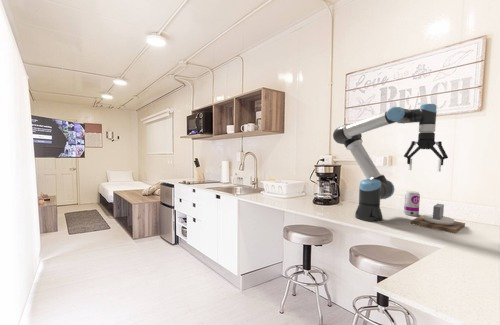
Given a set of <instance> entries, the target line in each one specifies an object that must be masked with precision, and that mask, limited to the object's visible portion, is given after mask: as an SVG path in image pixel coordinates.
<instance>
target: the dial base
mask: <svg viewBox="0 0 500 325" xmlns="http://www.w3.org/2000/svg"><path fill="white" fill-rule="evenodd" d="M410 224H411V225H413V226H419V227H424V228H428V229H433V230H436V231H437V230H438V231H442V232H446V233H449V234H451V233H452V234H457V233H458V232H459V231H461V230H462V229H464V228H465V226H466V222H461V221H455V220H454V224H453V225H441V224H435V223H430V222H427V221H425V220H423V215H421V216H417V217H416V218H414V219H411V220H410Z"/></svg>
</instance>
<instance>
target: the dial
mask: <svg viewBox="0 0 500 325" xmlns="http://www.w3.org/2000/svg"><path fill="white" fill-rule="evenodd" d="M444 207H445V205H444V204H443V203H436V204H435V205H433V209H432V210H433V212H432V214H427V213H426V214H422V216H423V220H425V221H427V222H430V223H435V224H441V225H453V224H454V221H455V219H454V218H451V217H449V216H446V215H444V209H445V208H444Z"/></svg>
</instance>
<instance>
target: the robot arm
mask: <svg viewBox="0 0 500 325" xmlns="http://www.w3.org/2000/svg"><path fill="white" fill-rule="evenodd" d="M437 113H438V112H437V105H436V104H435V103H424V104H420V107H419V108H415V109H407V108H403V107H400V106H393V107H390V108H388V110H386V111H384V112H381V113H379V114H375V115H373V116H370V117H368V118H365V119H362V120H360V121H356V122H355V123H352V124H344V125H342V126H341V125H340V126H339V127H337V128H336V129H335V130H334V131H333V133H332V138H333V140H334V141H335V143H337V144H340V145H344V147H345V148H346V150H348V151H350V153H351V154H352V156H353V158H354V159H355V161H356V163H357V165H358V166H359V168H360V170H361V172H362V173H363V174H364V175H363V176H365V179H362V180H360V182H359V186H358V188H359V189H358V206H357V208H356V211H355V213H354V214H355V215H354V217H355V218H356V219H358V220H361V221H366V222H382V221H383V219H384V218H383V213H382V209H381V200H387V199H389V198H390V197H392V196H393V195H394V193H395V186H394V183H393V182H392V181H390V180H388V179H387V178H386V176H385V175H384V174H381V173H380V172H379V169H378V167H376V165H375V163H374V161H373V160H372V159H371V157H370V155H369V154H368V151H367V150H366V148H365V147H364V146H363V138H362V136H363V135H362V134H364V133H367V132H370V131H372V130H373V131H374V130H376V129H379V128H382V127H384V126H385V127H386V126H388V125H391V124H394V123H397V124H403V125H404V124H413V123H414V124H415V123H418V132H419V133H418V135H417V136H418V137H417V138H418V139H417V141H414V140H413V141H412V140H411V143H410V145H409V147H408V148H407V150H406V152H405V153H404V155H403V158H406V160H407V161H406V164H407V165H408V170H409V171H412V168H413V167H412V166H413V165H412V164H413V158H412V157H414V155H416V154H417V153H418V152H419V151H420V150H431V151H432V152H433V153H434V154H435V155H436V156H437V158H438V159H437V167H436V168H437V172H438V173H439V172H441V171H442V169H441V168H442V166H444V160H446V159H448V158H449V156H448V154H447V153H446V151H445V149H444V146H443V145H442V141H435V139H436V138H435V137H436V124H437V123H436V122H437ZM416 145H417V147H416V148H415V149H414V150H413V148H414V147H415V146H416ZM435 145H436V146H437V148H438V149H439V151H440V152H439V151H438V150H437V149H436V147H435ZM412 150H413V151H412ZM410 152H411V153H410Z"/></svg>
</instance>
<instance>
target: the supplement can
mask: <svg viewBox="0 0 500 325" xmlns="http://www.w3.org/2000/svg"><path fill="white" fill-rule="evenodd" d="M420 200H421V195H420V191H419V192H418V191H416V190H415V191H414V190H406V191H405V193H404V202H403V203H404V204H403V205H404V206H403V213H404V214H405V215H406V216H412V217H416V216H417V217H419V215H420V203H421V202H420Z"/></svg>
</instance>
